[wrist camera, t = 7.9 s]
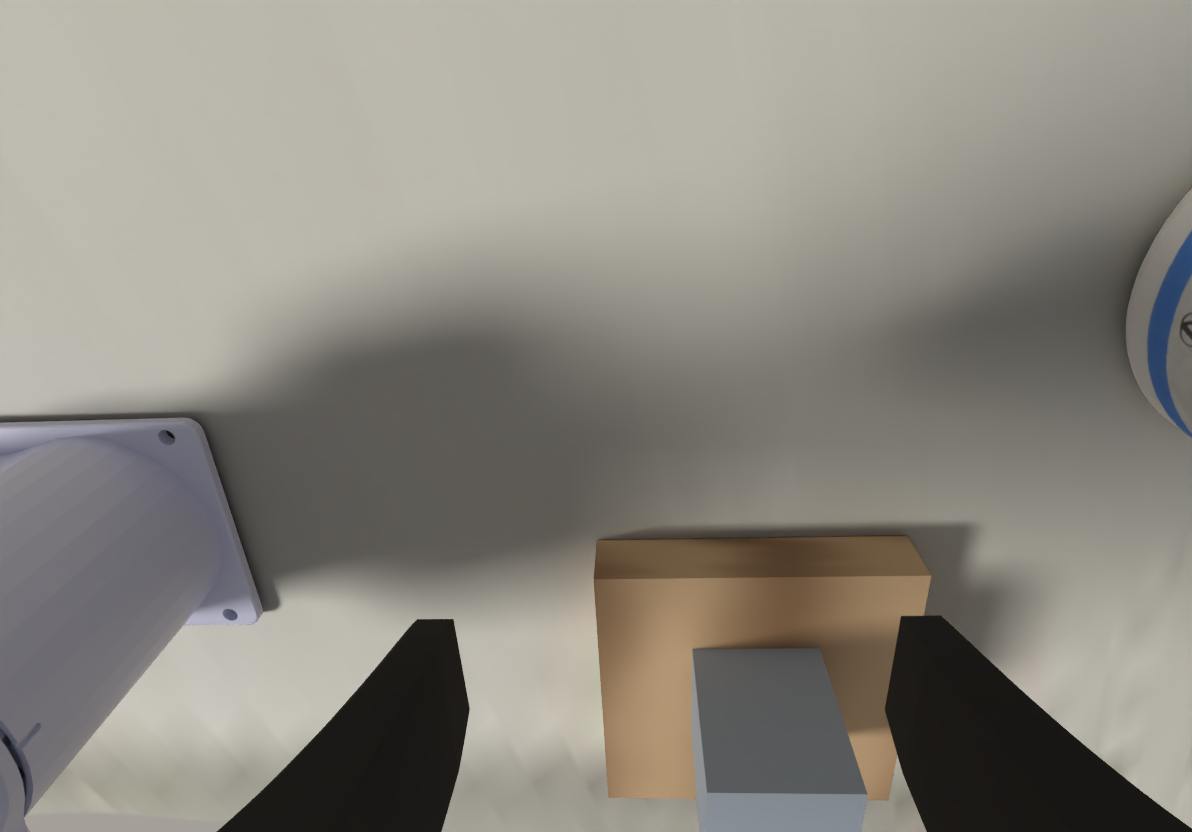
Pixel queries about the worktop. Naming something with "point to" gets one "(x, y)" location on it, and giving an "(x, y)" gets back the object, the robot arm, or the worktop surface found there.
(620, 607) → the slab
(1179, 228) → the supplement tub
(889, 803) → the worktop surface
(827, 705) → the block
